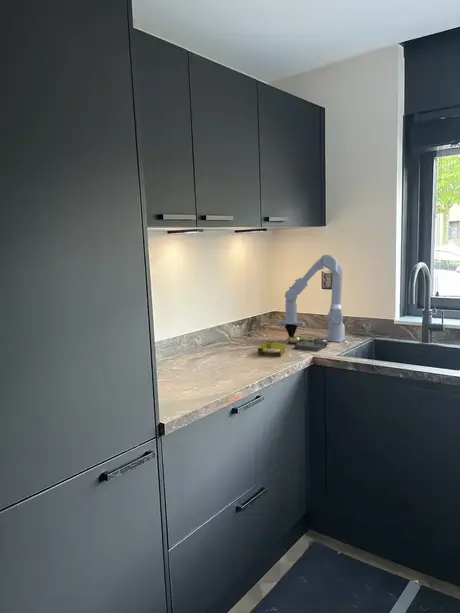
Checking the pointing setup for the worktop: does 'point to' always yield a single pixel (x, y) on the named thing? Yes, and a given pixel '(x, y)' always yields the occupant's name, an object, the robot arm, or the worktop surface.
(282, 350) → the bracket
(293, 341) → the brass plate
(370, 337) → the worktop surface
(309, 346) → the fixed leaf
